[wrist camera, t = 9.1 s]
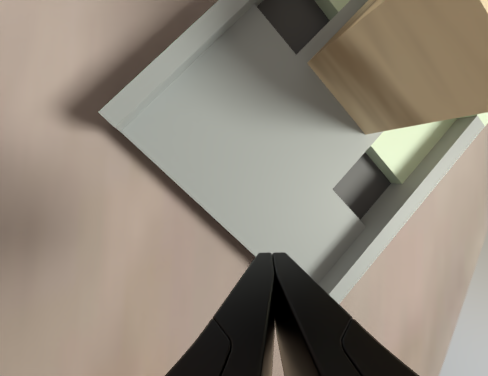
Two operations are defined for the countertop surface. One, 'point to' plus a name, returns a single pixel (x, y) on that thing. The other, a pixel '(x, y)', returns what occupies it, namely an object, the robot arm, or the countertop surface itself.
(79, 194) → the countertop surface
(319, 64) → the block
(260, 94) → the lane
